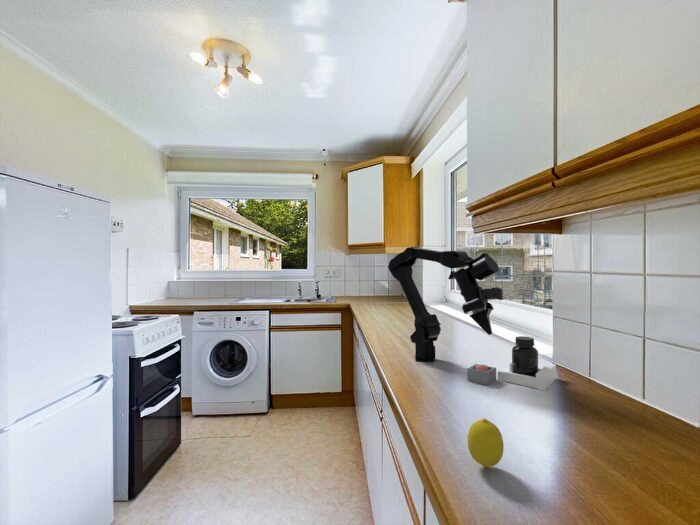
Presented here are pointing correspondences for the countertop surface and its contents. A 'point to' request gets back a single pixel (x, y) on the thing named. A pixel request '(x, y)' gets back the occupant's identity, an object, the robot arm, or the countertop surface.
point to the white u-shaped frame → (539, 382)
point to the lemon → (485, 443)
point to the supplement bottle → (524, 357)
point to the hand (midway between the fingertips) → (490, 334)
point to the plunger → (481, 367)
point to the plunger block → (481, 375)
